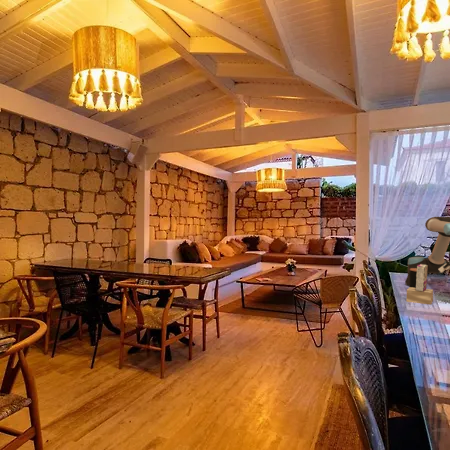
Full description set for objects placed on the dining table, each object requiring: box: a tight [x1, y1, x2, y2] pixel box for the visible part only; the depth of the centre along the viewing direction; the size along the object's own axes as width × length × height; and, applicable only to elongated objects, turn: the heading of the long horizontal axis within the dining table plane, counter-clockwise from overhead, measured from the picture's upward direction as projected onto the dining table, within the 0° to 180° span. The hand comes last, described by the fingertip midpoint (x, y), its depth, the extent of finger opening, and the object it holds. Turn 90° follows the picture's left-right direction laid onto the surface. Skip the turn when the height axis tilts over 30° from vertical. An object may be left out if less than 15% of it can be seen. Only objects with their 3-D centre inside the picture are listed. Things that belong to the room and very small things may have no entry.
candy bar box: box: [416, 264, 428, 292], centre depth 234 cm, size 11×5×16 cm, turn 142°
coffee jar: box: [408, 268, 417, 288], centre depth 258 cm, size 11×11×18 cm
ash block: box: [406, 286, 434, 306], centre depth 235 cm, size 12×14×8 cm
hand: (442, 269), depth 231 cm, fingers open, 13 cm apart
